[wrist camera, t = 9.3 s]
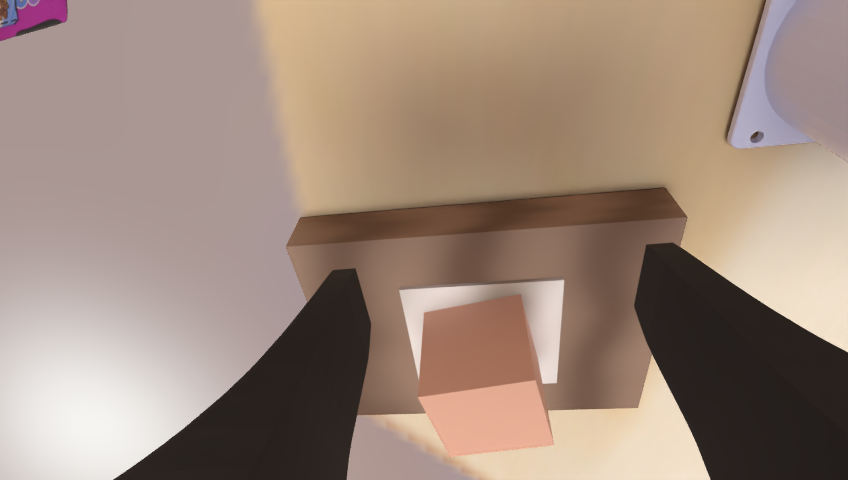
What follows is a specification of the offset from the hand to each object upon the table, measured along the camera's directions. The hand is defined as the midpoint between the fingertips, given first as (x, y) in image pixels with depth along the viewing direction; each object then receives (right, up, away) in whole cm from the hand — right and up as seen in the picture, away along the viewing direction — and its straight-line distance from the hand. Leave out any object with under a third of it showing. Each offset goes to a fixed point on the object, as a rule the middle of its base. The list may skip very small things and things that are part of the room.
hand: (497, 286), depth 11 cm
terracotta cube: (+1, -4, +12) cm, 13 cm away
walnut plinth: (+1, -3, +15) cm, 15 cm away
